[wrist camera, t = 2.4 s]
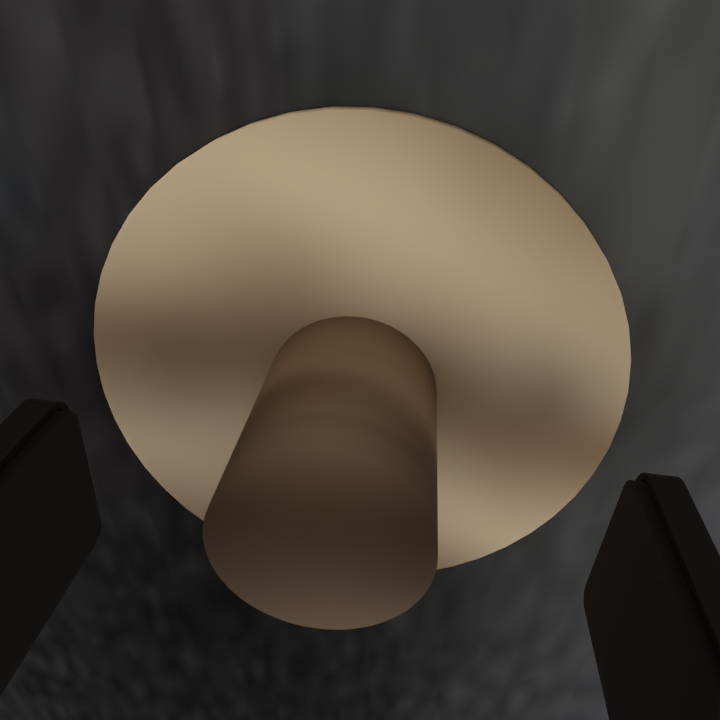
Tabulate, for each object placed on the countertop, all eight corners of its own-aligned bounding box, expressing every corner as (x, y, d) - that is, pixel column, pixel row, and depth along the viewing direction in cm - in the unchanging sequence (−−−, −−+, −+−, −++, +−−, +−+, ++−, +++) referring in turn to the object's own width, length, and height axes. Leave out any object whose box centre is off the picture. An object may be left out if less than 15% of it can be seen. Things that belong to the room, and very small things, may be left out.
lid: (554, 578, 18) (600, 795, 13) (140, 526, 19) (35, 713, 14) (700, 131, 12) (895, 224, 7) (68, 79, 13) (-174, 128, 8)
